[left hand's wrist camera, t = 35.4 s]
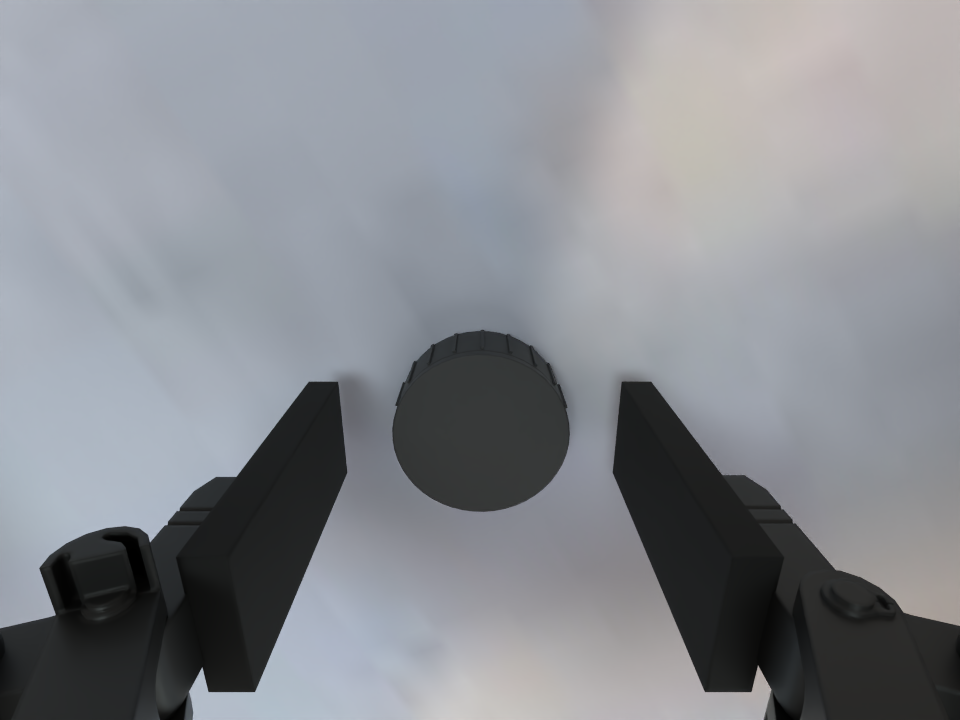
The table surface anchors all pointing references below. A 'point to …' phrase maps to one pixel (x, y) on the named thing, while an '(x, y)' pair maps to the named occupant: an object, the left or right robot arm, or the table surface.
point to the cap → (481, 422)
